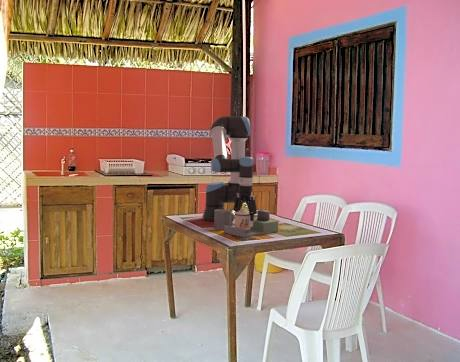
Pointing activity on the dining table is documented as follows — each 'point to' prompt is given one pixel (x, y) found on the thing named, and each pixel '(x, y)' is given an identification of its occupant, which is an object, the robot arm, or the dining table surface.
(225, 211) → the coffee mug
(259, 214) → the grey green blocky piece
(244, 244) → the dining table surface
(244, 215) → the teacup with lid
